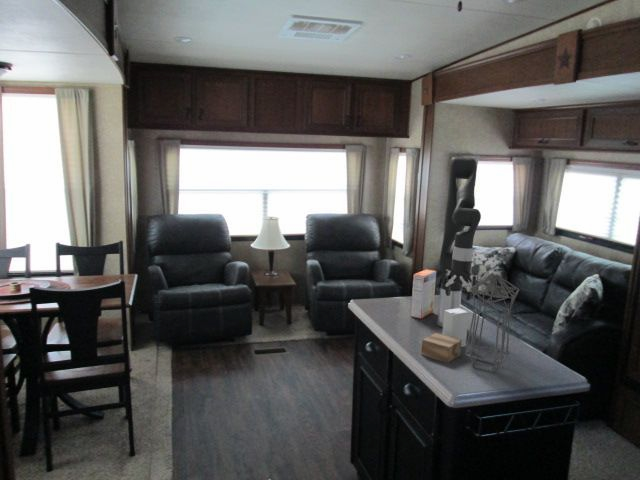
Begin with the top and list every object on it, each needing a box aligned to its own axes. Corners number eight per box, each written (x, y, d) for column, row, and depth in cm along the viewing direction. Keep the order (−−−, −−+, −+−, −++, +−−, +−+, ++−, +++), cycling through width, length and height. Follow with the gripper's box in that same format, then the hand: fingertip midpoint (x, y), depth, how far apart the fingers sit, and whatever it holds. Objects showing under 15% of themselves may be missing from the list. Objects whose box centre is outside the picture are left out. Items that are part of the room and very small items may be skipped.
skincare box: (456, 341, 219) (459, 307, 216) (466, 346, 213) (470, 311, 211) (440, 344, 215) (443, 309, 212) (449, 349, 210) (453, 313, 207)
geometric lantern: (469, 354, 205) (479, 267, 199) (511, 364, 198) (522, 274, 191) (458, 368, 192) (468, 275, 186) (503, 379, 184) (514, 282, 178)
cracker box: (422, 309, 259) (425, 268, 256) (433, 312, 256) (437, 270, 252) (409, 316, 248) (413, 273, 244) (421, 319, 245) (425, 275, 241)
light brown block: (434, 347, 211) (435, 332, 210) (460, 354, 204) (461, 340, 203) (421, 354, 203) (422, 339, 202) (447, 362, 196) (448, 347, 195)
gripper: (483, 260, 206) (478, 300, 209) (449, 254, 215) (445, 292, 218) (475, 262, 200) (470, 303, 203) (441, 256, 209) (437, 295, 212)
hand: (457, 297), depth 211 cm, fingers open, 8 cm apart
